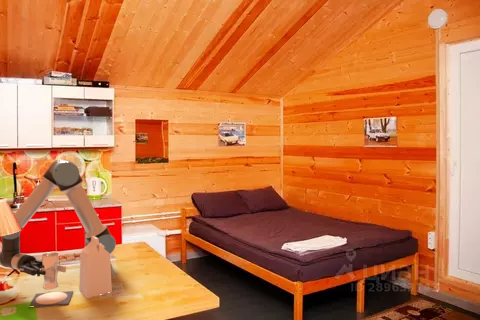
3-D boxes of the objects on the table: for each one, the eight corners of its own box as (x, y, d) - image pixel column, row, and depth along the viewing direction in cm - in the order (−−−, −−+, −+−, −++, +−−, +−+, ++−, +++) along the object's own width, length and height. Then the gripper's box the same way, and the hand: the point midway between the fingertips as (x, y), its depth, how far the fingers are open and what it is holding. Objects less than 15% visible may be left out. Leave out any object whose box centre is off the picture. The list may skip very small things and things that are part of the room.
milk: (79, 289, 201) (78, 236, 199) (103, 284, 208) (102, 233, 206) (87, 298, 192) (86, 242, 189) (112, 292, 199) (111, 238, 196)
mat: (73, 292, 197) (73, 290, 197) (68, 305, 184) (68, 302, 184) (36, 295, 194) (36, 292, 194) (28, 308, 180) (28, 305, 180)
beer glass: (45, 284, 191) (45, 251, 190) (61, 284, 192) (61, 251, 191) (39, 290, 184) (39, 256, 183) (56, 290, 185) (55, 256, 184)
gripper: (42, 264, 205) (76, 273, 194) (4, 276, 187) (39, 287, 177) (42, 249, 204) (76, 257, 194) (4, 260, 187) (38, 269, 176)
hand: (58, 271), depth 185 cm, fingers closed on beer glass, 6 cm apart
